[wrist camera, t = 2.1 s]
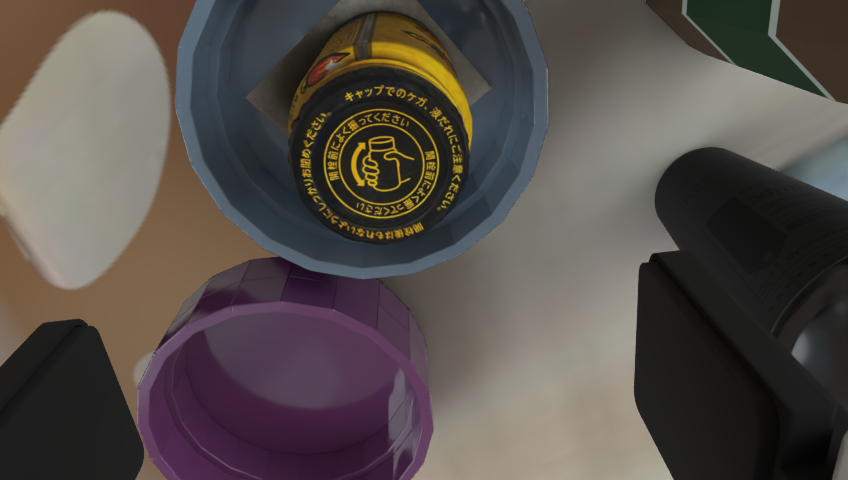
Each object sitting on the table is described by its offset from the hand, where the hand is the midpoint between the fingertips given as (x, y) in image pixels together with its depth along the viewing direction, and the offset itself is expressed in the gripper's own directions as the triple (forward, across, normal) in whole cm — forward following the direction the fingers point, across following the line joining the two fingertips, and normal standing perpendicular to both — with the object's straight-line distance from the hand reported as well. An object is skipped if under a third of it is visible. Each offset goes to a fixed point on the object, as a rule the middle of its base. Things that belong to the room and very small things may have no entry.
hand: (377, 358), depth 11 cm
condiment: (+20, +1, -1) cm, 20 cm away
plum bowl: (+20, +7, +14) cm, 26 cm away
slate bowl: (+20, +1, -1) cm, 20 cm away
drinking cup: (+20, -15, +6) cm, 26 cm away
